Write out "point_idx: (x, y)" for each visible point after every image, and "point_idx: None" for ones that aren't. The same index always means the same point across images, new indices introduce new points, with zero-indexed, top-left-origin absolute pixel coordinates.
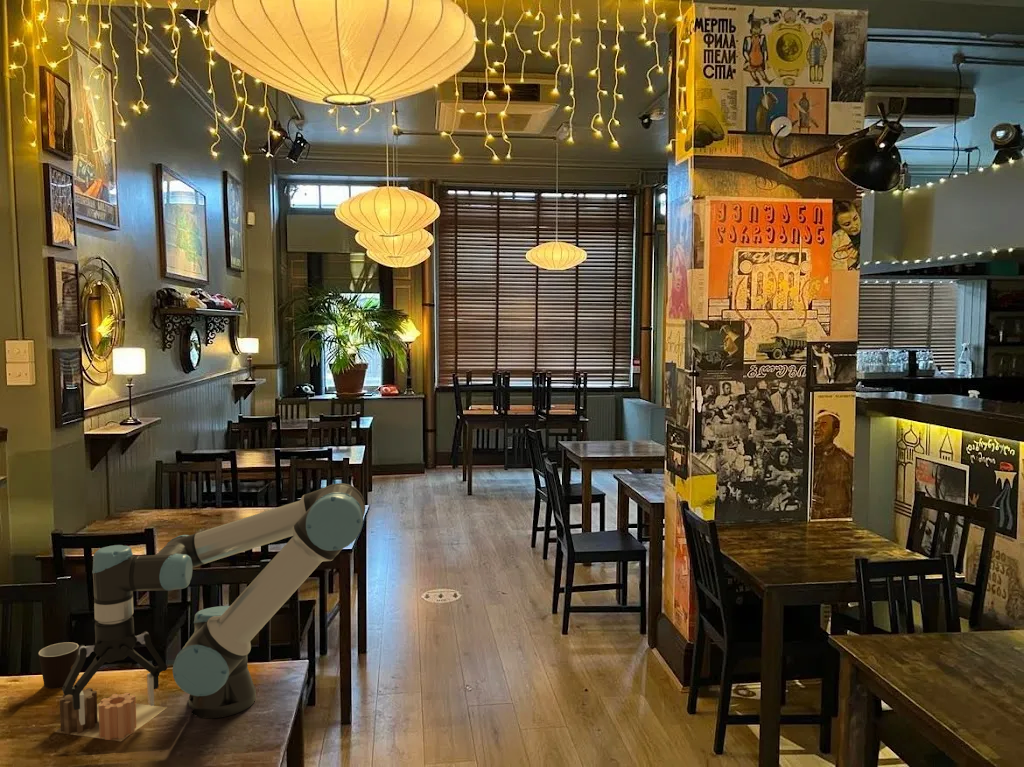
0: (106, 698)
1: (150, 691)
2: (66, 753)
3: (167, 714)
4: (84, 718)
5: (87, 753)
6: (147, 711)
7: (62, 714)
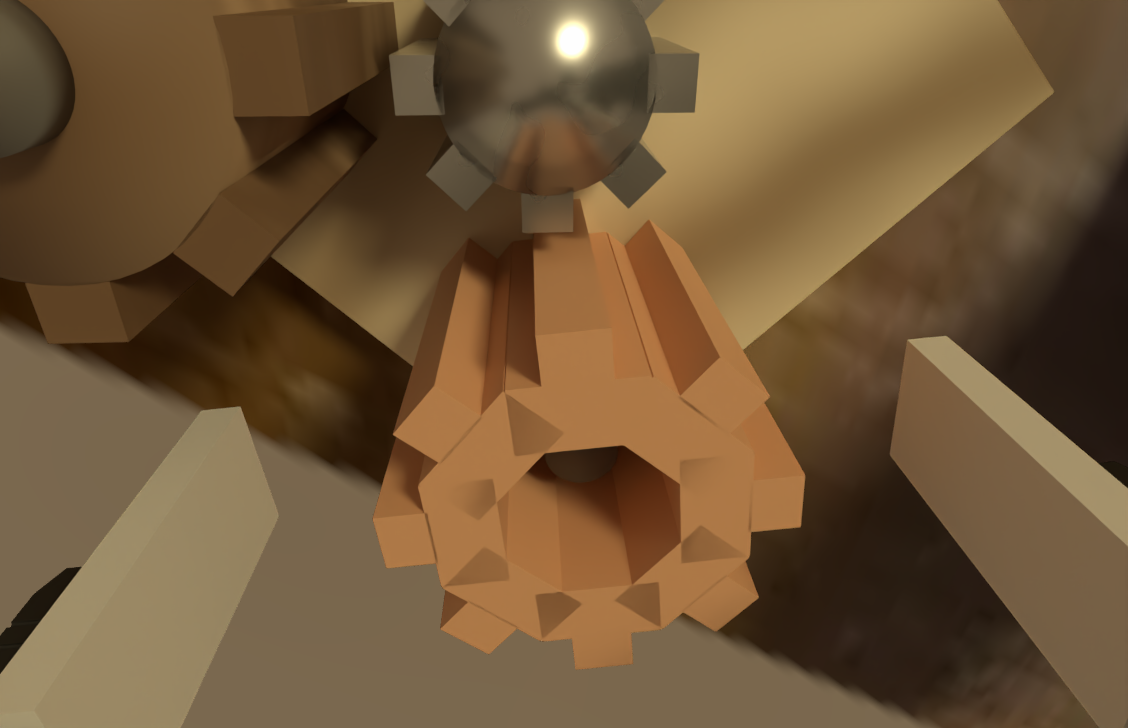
0: (467, 411)
1: (983, 574)
2: (206, 354)
3: None
4: (255, 560)
5: (357, 423)
6: (872, 75)
7: None
